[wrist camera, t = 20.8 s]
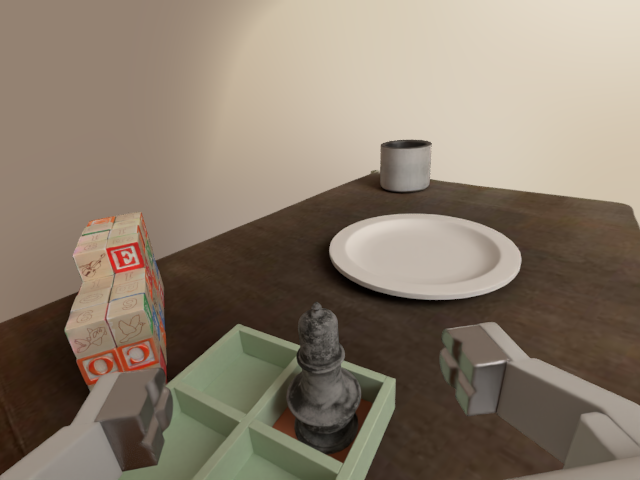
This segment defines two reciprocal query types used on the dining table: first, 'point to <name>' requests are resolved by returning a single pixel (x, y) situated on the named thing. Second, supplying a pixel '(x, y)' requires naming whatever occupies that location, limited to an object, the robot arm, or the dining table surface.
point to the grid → (258, 418)
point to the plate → (425, 256)
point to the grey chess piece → (323, 386)
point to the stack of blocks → (117, 300)
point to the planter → (405, 165)
